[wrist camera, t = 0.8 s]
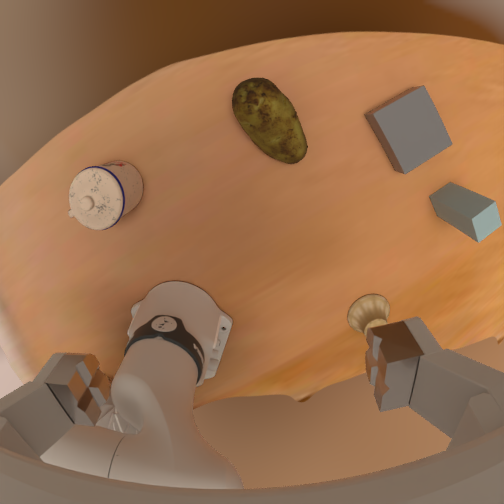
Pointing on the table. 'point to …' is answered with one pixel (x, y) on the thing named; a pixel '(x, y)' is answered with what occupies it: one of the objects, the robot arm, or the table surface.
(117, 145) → the table surface
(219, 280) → the table surface
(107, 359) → the table surface
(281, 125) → the potato
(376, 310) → the hand bell
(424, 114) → the slate slab
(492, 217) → the teal block
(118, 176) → the teacup with lid
